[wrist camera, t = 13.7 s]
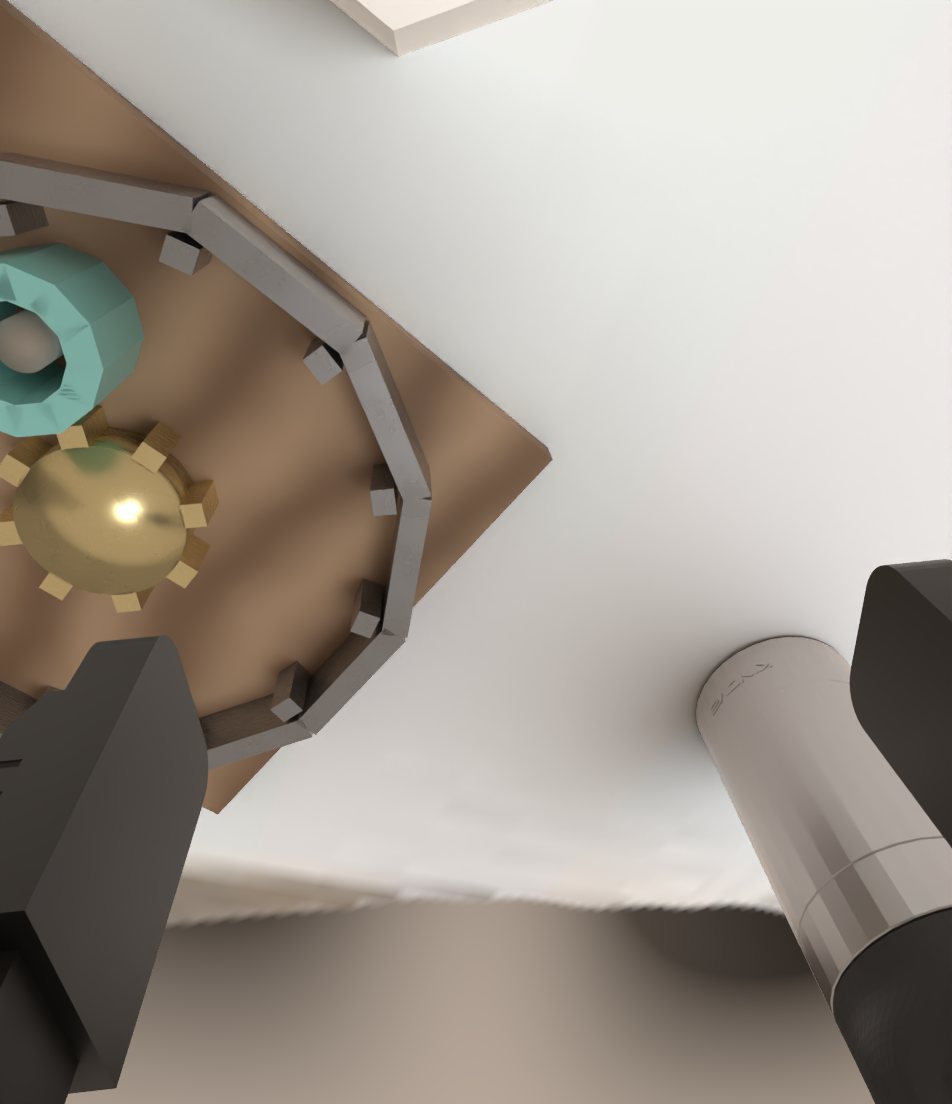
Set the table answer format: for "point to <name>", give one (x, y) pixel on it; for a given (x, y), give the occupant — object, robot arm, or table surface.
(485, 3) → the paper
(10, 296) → the teal short hollow cylinder
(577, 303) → the table surface
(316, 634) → the carrier plate
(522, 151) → the table surface
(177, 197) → the ring gear
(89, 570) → the sun gear
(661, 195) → the table surface
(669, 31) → the table surface
